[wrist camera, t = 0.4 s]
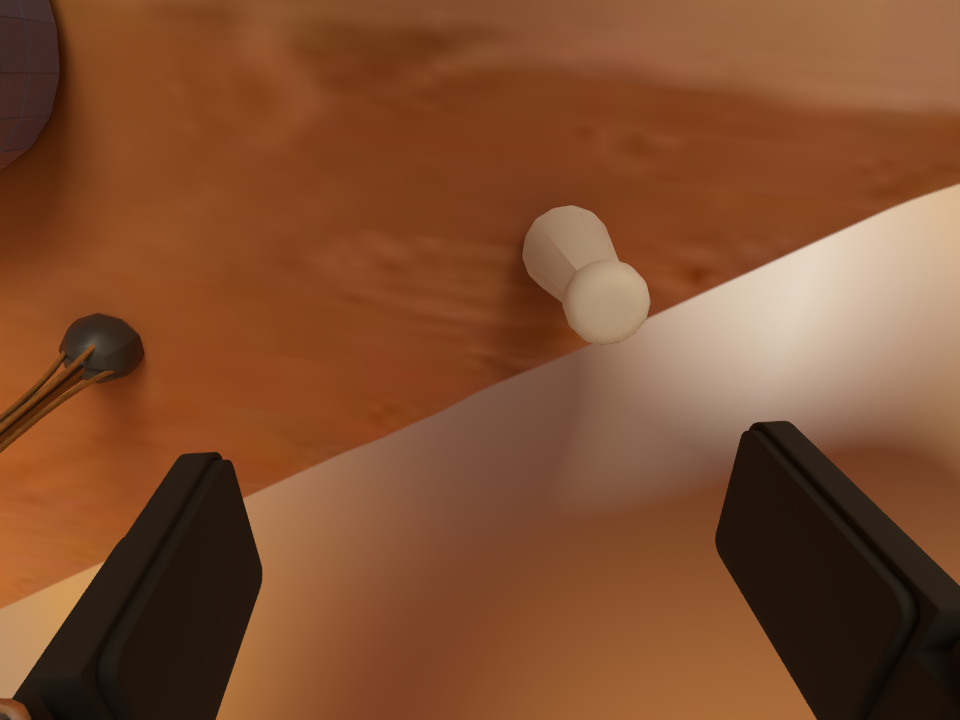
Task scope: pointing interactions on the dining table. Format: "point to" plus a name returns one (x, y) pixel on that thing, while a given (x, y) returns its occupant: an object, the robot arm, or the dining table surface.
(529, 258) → the salt shaker
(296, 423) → the dining table surface
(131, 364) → the wooden tabletop sculpture
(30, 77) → the bowl
